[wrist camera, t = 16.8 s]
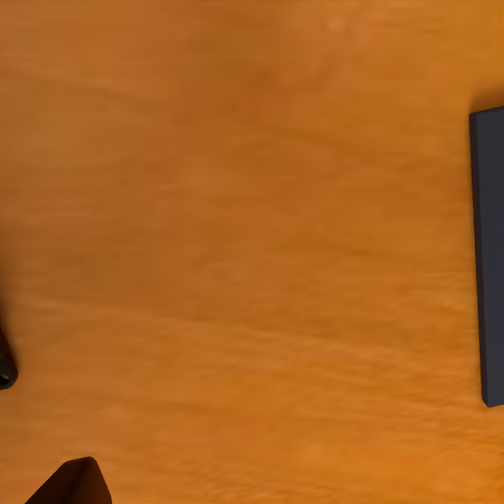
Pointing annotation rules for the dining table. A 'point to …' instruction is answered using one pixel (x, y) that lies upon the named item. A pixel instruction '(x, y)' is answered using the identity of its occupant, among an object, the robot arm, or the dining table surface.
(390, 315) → the dining table surface
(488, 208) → the blue mat
